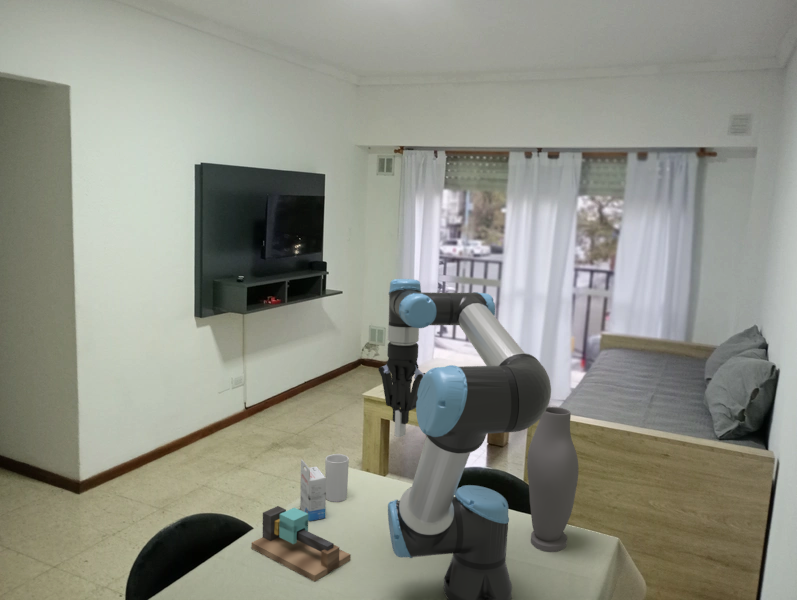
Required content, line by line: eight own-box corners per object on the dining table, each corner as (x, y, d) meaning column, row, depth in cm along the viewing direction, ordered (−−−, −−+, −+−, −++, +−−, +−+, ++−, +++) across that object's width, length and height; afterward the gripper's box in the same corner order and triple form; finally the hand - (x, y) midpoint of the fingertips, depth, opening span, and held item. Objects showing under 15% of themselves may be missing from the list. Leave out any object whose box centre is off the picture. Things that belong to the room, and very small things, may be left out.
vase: (571, 558, 159) (581, 421, 155) (518, 548, 163) (527, 414, 159) (574, 535, 171) (584, 407, 167) (525, 526, 175) (533, 401, 171)
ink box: (326, 518, 175) (327, 467, 173) (308, 522, 173) (309, 469, 171) (316, 505, 183) (317, 455, 181) (299, 508, 181) (300, 458, 179)
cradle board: (350, 560, 155) (351, 529, 154) (314, 581, 145) (315, 548, 144) (287, 529, 168) (287, 501, 167) (250, 547, 159) (250, 517, 158)
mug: (346, 503, 185) (347, 463, 183) (322, 501, 185) (323, 462, 183) (350, 488, 195) (351, 450, 193) (328, 487, 195) (329, 449, 193)
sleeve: (307, 536, 158) (308, 513, 157) (293, 544, 154) (293, 520, 153) (293, 530, 161) (294, 507, 160) (279, 537, 157) (279, 514, 156)
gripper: (433, 343, 156) (430, 437, 159) (390, 336, 164) (387, 426, 167) (417, 348, 150) (413, 445, 153) (372, 340, 157) (369, 433, 160)
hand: (400, 435), depth 160 cm, fingers closed
